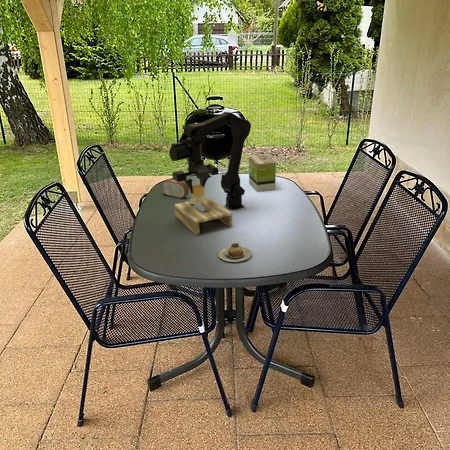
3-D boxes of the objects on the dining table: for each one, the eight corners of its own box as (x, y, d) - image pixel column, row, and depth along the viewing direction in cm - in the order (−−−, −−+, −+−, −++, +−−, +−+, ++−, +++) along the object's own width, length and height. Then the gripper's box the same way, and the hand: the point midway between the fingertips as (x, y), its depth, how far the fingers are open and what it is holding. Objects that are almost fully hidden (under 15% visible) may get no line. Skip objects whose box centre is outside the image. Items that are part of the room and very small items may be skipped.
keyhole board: (208, 209, 196) (207, 197, 194) (232, 226, 178) (231, 212, 176) (175, 217, 189) (174, 204, 187) (196, 235, 171) (195, 221, 169)
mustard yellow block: (200, 200, 187) (199, 183, 184) (204, 203, 184) (203, 186, 181) (190, 202, 185) (189, 185, 182) (195, 205, 182) (194, 188, 179)
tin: (189, 198, 211) (188, 181, 208) (185, 200, 209) (184, 183, 206) (165, 193, 219) (164, 177, 216) (161, 195, 217) (160, 179, 213)
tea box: (248, 183, 229) (248, 156, 223) (266, 181, 231) (266, 154, 225) (257, 192, 216) (256, 163, 210) (276, 190, 218) (276, 161, 212)
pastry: (255, 261, 150) (255, 250, 148) (222, 266, 148) (221, 254, 146) (247, 247, 161) (246, 235, 159) (215, 251, 159) (214, 239, 157)
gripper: (181, 164, 166) (184, 202, 172) (224, 157, 174) (225, 193, 180) (170, 158, 175) (173, 194, 181) (211, 151, 183) (213, 186, 189)
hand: (196, 192), depth 183 cm, fingers closed on mustard yellow block, 4 cm apart
